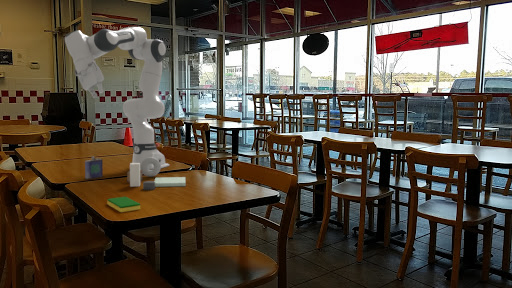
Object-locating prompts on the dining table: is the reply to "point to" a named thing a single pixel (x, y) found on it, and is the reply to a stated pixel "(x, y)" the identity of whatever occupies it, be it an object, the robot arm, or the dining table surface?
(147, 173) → the donut
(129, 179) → the walnut cube
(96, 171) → the flask
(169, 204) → the dining table surface
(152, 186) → the rubber puck
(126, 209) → the dish sponge
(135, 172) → the tall block
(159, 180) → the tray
